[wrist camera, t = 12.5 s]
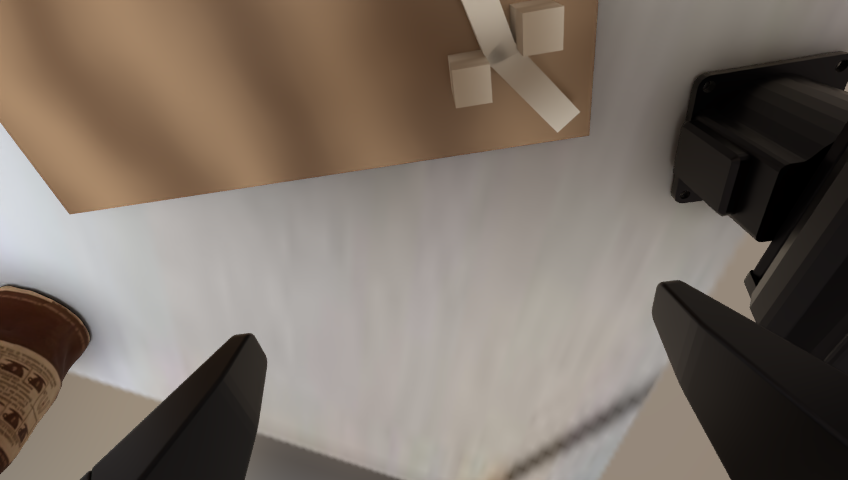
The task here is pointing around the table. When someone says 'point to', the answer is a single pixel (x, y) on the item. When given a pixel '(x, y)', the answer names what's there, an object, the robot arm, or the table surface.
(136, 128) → the cable board
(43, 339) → the coffee cup
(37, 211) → the table surface
